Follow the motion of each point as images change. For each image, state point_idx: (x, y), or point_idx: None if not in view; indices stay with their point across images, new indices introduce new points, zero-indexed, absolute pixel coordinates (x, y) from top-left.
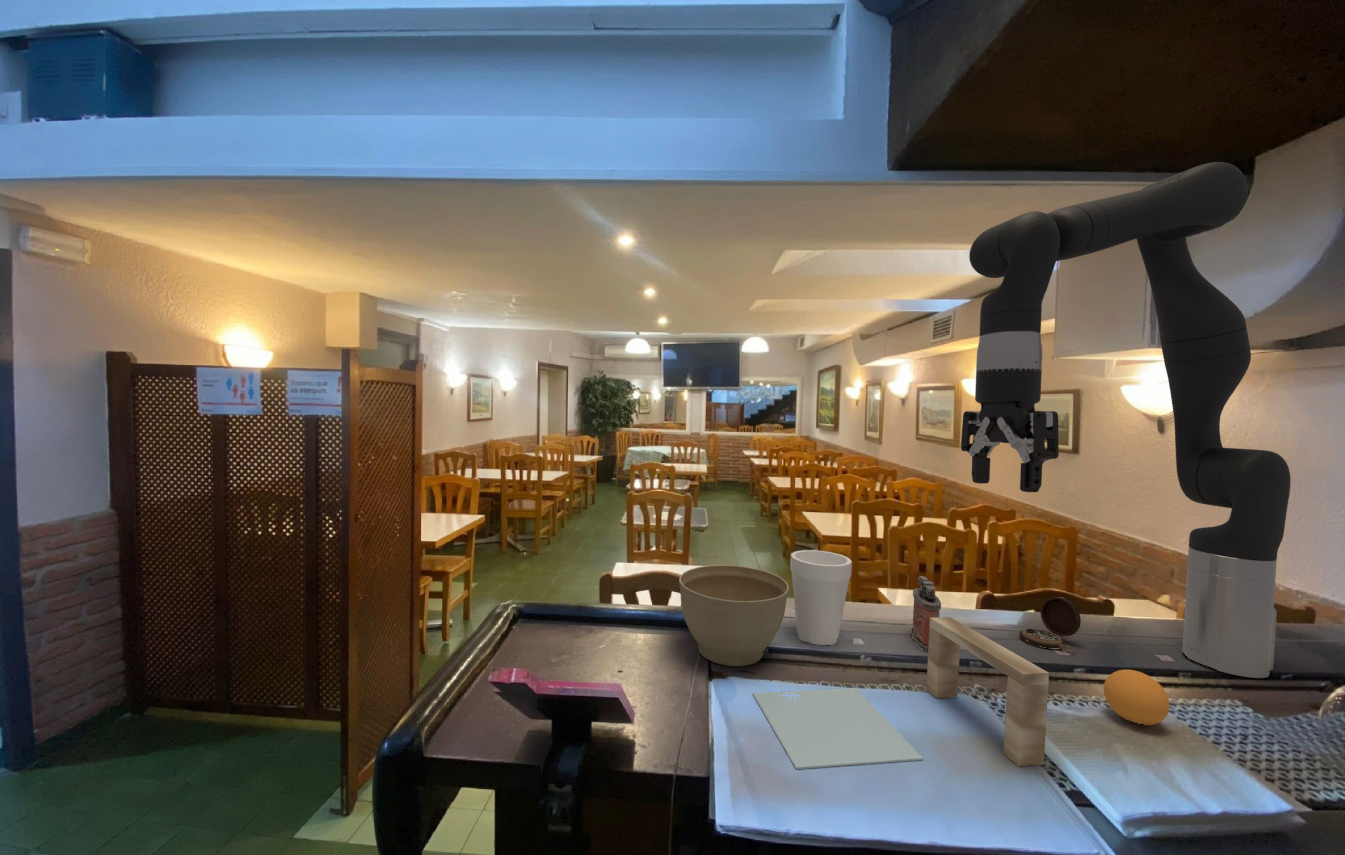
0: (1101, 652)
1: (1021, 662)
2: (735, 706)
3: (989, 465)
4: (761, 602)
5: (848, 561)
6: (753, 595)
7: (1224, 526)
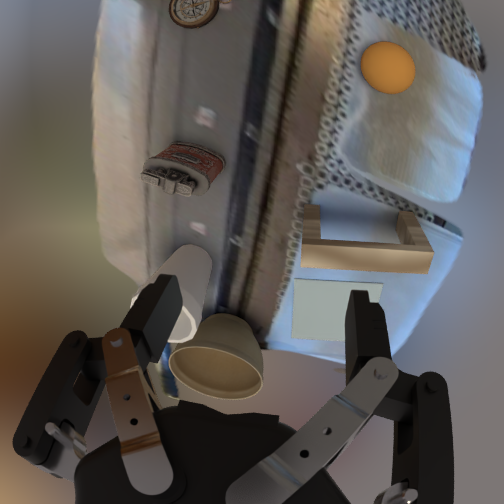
0: None
1: (412, 258)
2: (302, 347)
3: (152, 311)
4: (261, 375)
5: None
6: None
7: None
